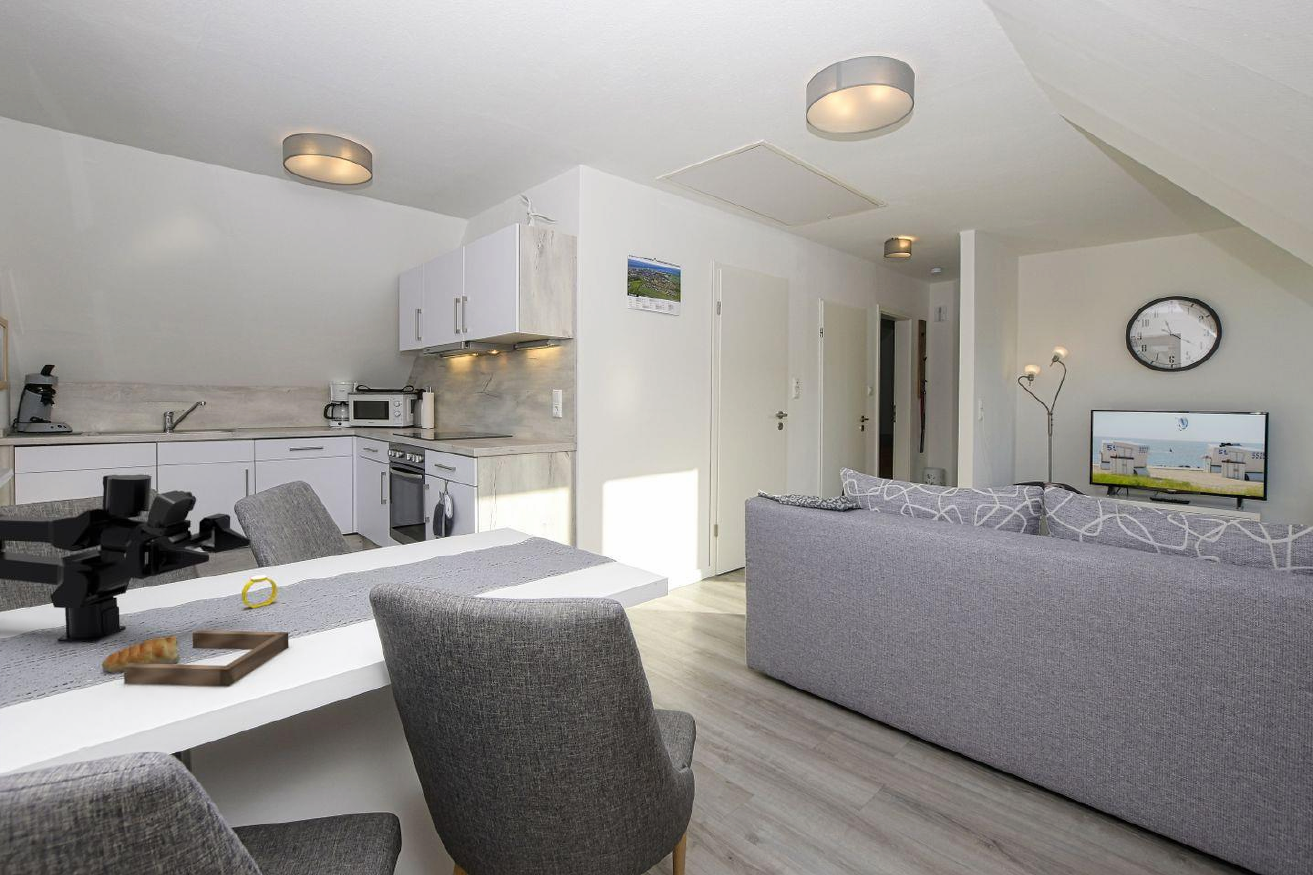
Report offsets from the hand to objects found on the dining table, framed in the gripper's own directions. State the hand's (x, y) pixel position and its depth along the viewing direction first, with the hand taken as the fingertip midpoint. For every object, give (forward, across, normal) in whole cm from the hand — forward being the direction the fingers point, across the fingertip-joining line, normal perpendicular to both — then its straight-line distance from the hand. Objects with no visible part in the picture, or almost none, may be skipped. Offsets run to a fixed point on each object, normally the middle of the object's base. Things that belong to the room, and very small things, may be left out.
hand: (229, 550), depth 106 cm
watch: (-7, +17, +18) cm, 25 cm away
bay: (+5, -9, +15) cm, 18 cm away
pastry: (-5, -10, +16) cm, 20 cm away
